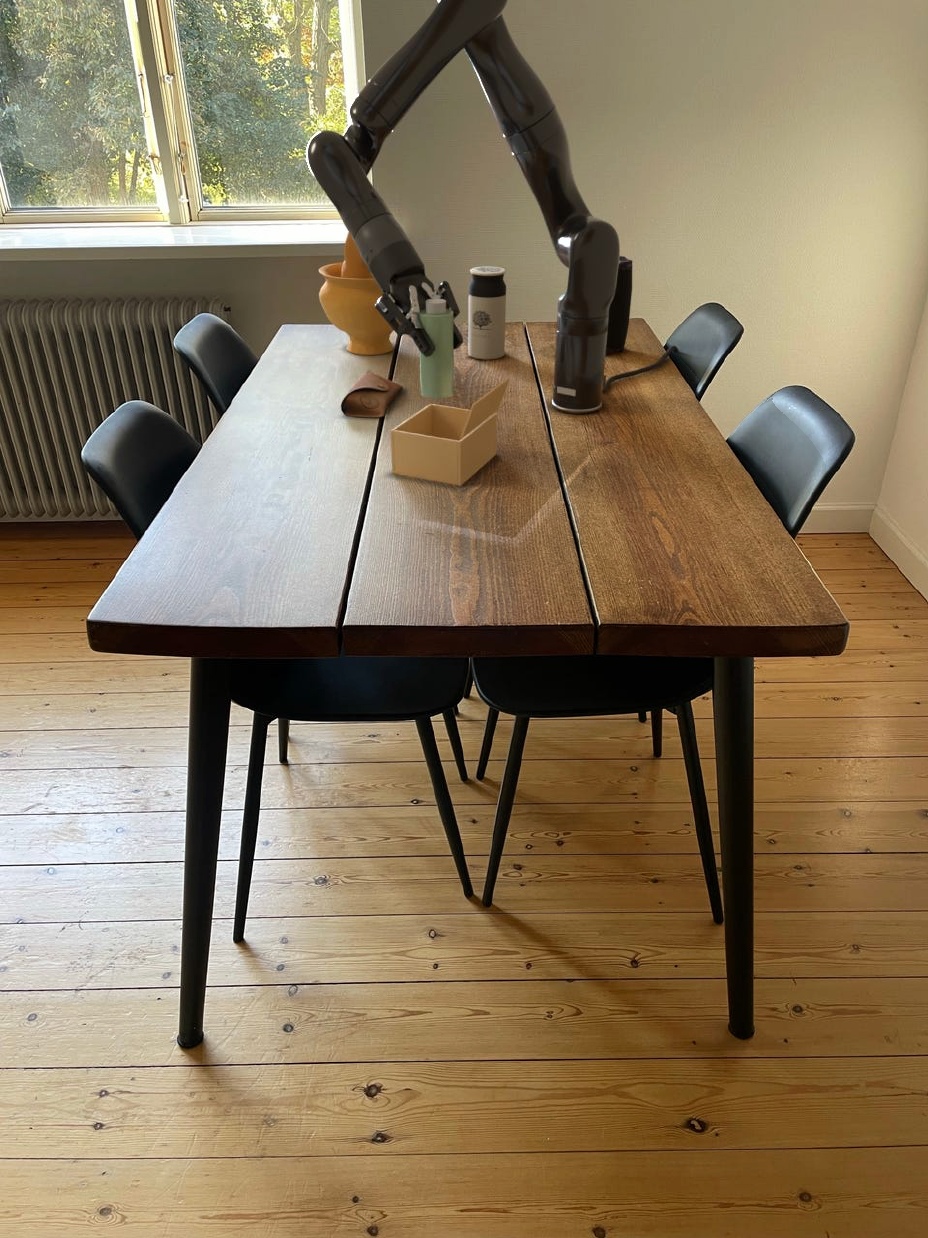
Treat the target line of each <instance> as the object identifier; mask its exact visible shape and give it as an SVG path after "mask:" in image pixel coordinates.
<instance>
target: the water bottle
mask: <svg viewBox="0 0 928 1238" xmlns="http://www.w3.org/2000/svg"><path fill="white" fill-rule="evenodd" d="M419 317H420V321H421V329H422V328H424V329H425V331H426V333H427V334H428V336H429V338H430V339H431V341H432V343H433V344H434V346H435V351H434V352H433V354H432V355H431V356H428V357H425V356H424V354H422V353H421V352H420V351H419V387H420V390H419V391H420V395H421V396H422V397H424V398H428V399H446V398H450V397H452V396H453V395H454V393H455V389H454V388H455V386H454V385H455V383H454V382H455V379H454V377H455V373H454V372H455V368H454V367H455V366H454V364H455V363H454V362H455V361H454V360H455V358H454V353H455V352H454V350H455V349H454V327H453V311H452V310H451V309H446V300H444V299H428V300H426V309H423V310H420V313H419Z"/></svg>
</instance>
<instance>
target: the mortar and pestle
mask: <svg viewBox="0 0 928 1238" xmlns="http://www.w3.org/2000/svg"><path fill="white" fill-rule="evenodd" d="M344 242H345V243H344V252H343V253H344V261H342V262H341V261H340V262H336V263H335V262H334V263H331V264H327V265H324V266H322V267H320V268H318V272H319V274H320V275H321V276H322V277H323V278H324V279H325V282H324V284H323V285H322V286H321V288H320V290H319V293H318V297H319V302H320V304H321V307H322V309H323V311H324V313H325V315H326V317H327V319H328V320H329V322H330V323H331V324H332V325H333V326H334V327H335V328H337V329H338V330H339V331H342V332H344V333H346V335H347V336H348V338H349V342H348V345H347V346H346V351H348V352H349V353H351V354H355V355H363V356H365V355H366V356H374V355H381V354H387V353H389V352H391V351H393V350H394V345H393V344H392V341H391V339H390V338H391V334H392V333H393V332H395V331H394V330H393V329H392V327H391V326H390V325H389V324H388V322H387V321H386V320H385V319H384V317H383V316H382V315H381V314H380V313H379V311H378V310H377V309H376V307H375V305H376V303H377V302H378V300H379V299H380V298H381V296H382V295H383V294H384V293H383V292H382V291H381V289H380V287H379V286H378V284H377V282H376V281H375V279H374V277H373V276H372V274H371V272H370V270H369V269H368V267H367V265H366V264H365V262H364V260H363V259H362V257H361V255H360V253H359V250H358V248H357V245H356V244H355V242H354V240H353V238H352V236H351V235H350V233H349V231H347V235H346V239H345V241H344ZM396 321H397V322H398V323H399V325H400V324H401V323H400V322H399V321H398V320H397V318H396Z"/></svg>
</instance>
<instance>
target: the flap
mask: <svg viewBox="0 0 928 1238" xmlns="http://www.w3.org/2000/svg"><path fill="white" fill-rule="evenodd" d="M510 380H511V378H510V377H507V378H506V379H505V380H503V381H501V383H499V384H498V385H497V386H495V387H494V388H492V389H491V390H490V391H488V392H487V393H486V394H485V395H483V396H482V397H480V398H479V399H477V400H476V401H475V402H473V403H472V404H471V407H470V409H469V410H470V413H469V415H468V418H467V421H466V424H465V426H464V429H463V432H462V434H461V437H460V438H463V437H465V436H466V435H467V434H468V433H470V432H471V431H472V430H473V429H475V428H476V427H477V426H479V425H480V424H481V423H482V422H484V421H485V420H486V419H487V418H489V417H490V416H491V415H493V414H494V413H495V414H496V413H497V412H498V410H499V409H500V406H501V403H502V401H503V398H504V395H505V393H506V390H507V388H508V385H509V383H510Z"/></svg>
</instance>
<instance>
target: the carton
mask: <svg viewBox="0 0 928 1238" xmlns="http://www.w3.org/2000/svg"><path fill="white" fill-rule="evenodd" d="M470 410H471V409H467V408H461V407H455V406H450V405H443V404H436V403H429V404H427V405H426V406H425V407H423V408H422V409H420V410H419V411H417V412H416V413H414V414H413V415H411V416H409V417H408V418H407V419H405V420H404V421H402V422H400V423H399V424H398V425H396V426H395V427H393V428H392V429H391V430H390V453H391V454H390V455H391V472H392V474H396V475H402V476H406V477H412V478H417V479H421V480H427V481H433V482H439V483H444V484H450V485H455V486H459V487H460V486H462V485H463V484H464V483H465V482H467V481H468V480H469V479H470V478H472V477H473V476H474V475H475V474H476V473H477V472H478V471H480V469H481V468H483V467H484V466H485V465H486V464H487V463H488V462H489V461H491V460H492V459H493V458H494V457H495V456H496V455H497V421H498V419H497V418H498V417H497V416H498V415H497V413H496V412H495V413H494V414H493V415H491V416H490V417H489V418H487V419H486V420H485V421H484V422H482V423H481V424H480V425H479V426H477V427H476V428H475V429H473V430H472V431H471V432H470V433H468V434H467V435H466V436H465V437H463V438H460V437H461V434H462V432H463V429H464V426H465V424H466V421H467V418H468V415H469V413H470Z"/></svg>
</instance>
